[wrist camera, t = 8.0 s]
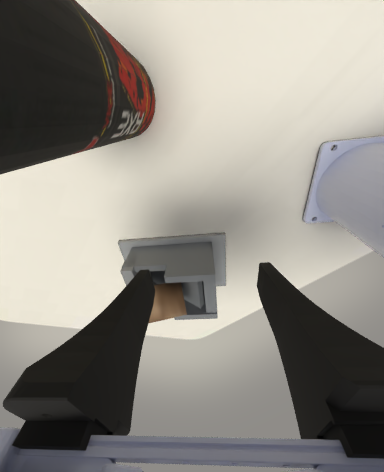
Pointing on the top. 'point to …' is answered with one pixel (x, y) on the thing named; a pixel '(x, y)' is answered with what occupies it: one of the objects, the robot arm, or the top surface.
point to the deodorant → (64, 84)
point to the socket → (181, 267)
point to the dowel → (168, 302)
